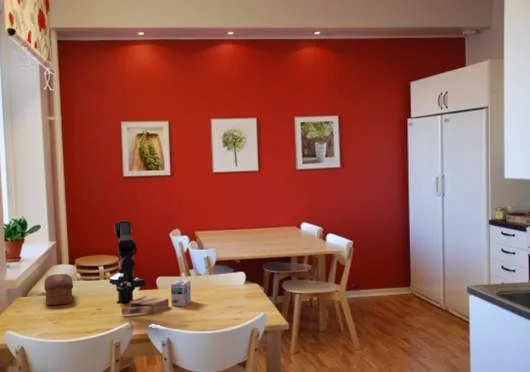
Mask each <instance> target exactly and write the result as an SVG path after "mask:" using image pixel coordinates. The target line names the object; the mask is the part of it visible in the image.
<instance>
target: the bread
mask: <svg viewBox="0 0 530 372" xmlns="http://www.w3.org/2000/svg"><path fill="white" fill-rule="evenodd" d="M43 282H44V284H43V287H44V288H43V289H44V291H45V302H46V303H45V304H47V305H49V306H58V305H59V306H60V305H66V304H70V303H71V302H72V301H73V288H74V282H73V277H72V276H71V275H70V274H67V273H60V274H58V273H57V274H51V275H48V276H47V277H46V278H45V280H44V281H43Z"/></svg>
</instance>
